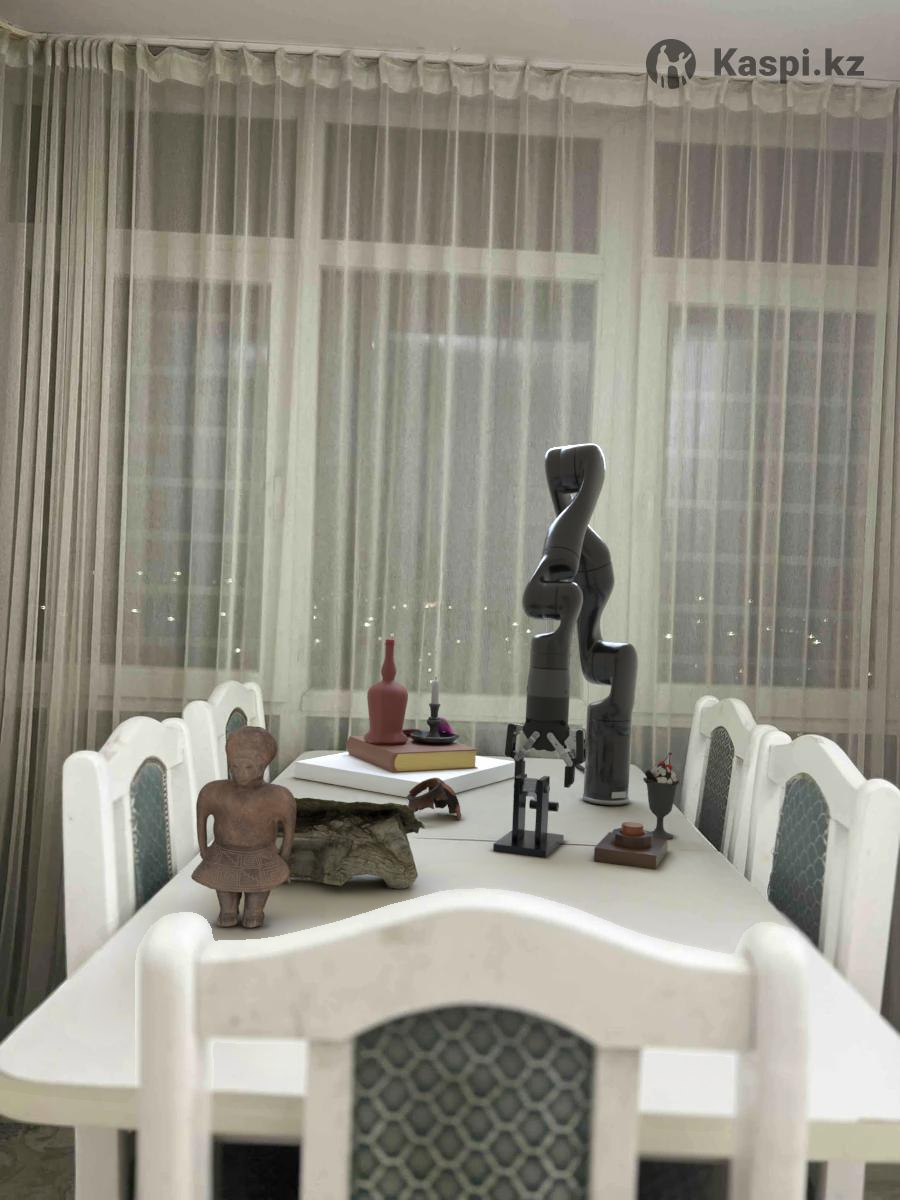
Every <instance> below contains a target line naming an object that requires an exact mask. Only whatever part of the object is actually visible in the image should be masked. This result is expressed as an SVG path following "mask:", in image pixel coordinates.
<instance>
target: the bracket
mask: <svg viewBox="0 0 900 1200" xmlns="http://www.w3.org/2000/svg"><path fill="white" fill-rule="evenodd" d="M550 777H551V776H549V775H543V776H541V777H540V778H537V779H538V780H537V801H536V809H535V825H534V826H535V828H534V830H527V829H526V807H527V806H526V805H527V796H526V795H525V794H524V792H523V785H524V780H525V778H528V774H527V773H525V774H520V775H518V776H516V777H513V778H514V780H513V804H512V823H511V824H512V825H511V826H512V827H511V830H510V831H508V833H506V834H505V835H503V836H502V837H501V838H499V839H498V840H497V841H495V842H493V848H492V849H493V850H492V851H493V852H498V853H499V852H500V853H506V854H507V853H508V854H515V855H521V856H530V857H537V858H545V859H546V858H547V857H548V856H549V855H551V853H553V852H554V851H555V850H556V849H558V848H559V846H561V844H563V843H564V842H565V839H564V838H565V835H564V834H559V833H553V832H552V833H551V832H548V826H549V824H548V823H549V811H548V805H549V801H550V791H551V786H550V782H551V781H550V780H551V778H550Z"/></svg>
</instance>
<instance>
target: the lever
mask: <svg viewBox="0 0 900 1200" xmlns="http://www.w3.org/2000/svg"><path fill="white" fill-rule="evenodd" d="M538 779H539V778H535V777H534V778H532V777H527V778H525V780H524V785H523V792H524V794H525V795H526V797H530V800H529V801H528V802H529V803H528V807H529V809H531V810H536V801H537V780H538ZM559 808H560V804H559V801H553V800H549V805H548V812H555V813H558V812H559Z"/></svg>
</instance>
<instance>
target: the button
mask: <svg viewBox="0 0 900 1200" xmlns="http://www.w3.org/2000/svg"><path fill="white" fill-rule="evenodd" d="M621 828H622V830H621V833H622V834H626V835H633V836H641V835H643V832H644V830H645V826H644V824H643V823H640V822H636V821H625V822H622V823H621Z"/></svg>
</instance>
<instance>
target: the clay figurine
mask: <svg viewBox="0 0 900 1200" xmlns="http://www.w3.org/2000/svg"><path fill="white" fill-rule="evenodd" d="M224 750H225V754H226V758H227V765H228V769H229V771H230V773H231V774H232V775H233V777H232V778H225V779H216V780H212V781H209V782H207V783H205V784H204V785H203V786H202V788H201V789H200V791H199V792H198V795H197V799H196V805H195V812H196V813H195V814H196V835H197V837H196V838H197V843H198V844H197V845H198V848H199V856H200V858H201V859H202V860H201V861H200V862H199V864H198V865H196V867H195V869H194V870H193V872H192V873H191V876H190V878H191V880H192V881H194V882H195V883H198V884H199V885H202V886H204V887H206V888H208V889H210V890H214V891H215V893H216V896H217V900H218V903H219V909H220V910H219V911H220V912H219V914H218V918H217V920H216V925H217V926H218V927H220V928H223V927H225V928H227V927H229V928H230V927H233V926H236V925H237V924H238V920H239V915H240V904H241V900H242V898H243V895H244V899H243V913H242V920H241V925H242V926H243V927H244V928H256V927H261V926H263V925H264V920H265V912H264V909H265V907H266V904H267V902H268V899H269V897H270V893H271V892H272V890H274V889H275V888H278V887H279V886H280V885H291V883H292V878H290V876H289V875H290V870H289V867H288V866H287V864H286V862H287V861H288V859H289V856H290V853H291V849H292V845H293V841H294V832H295V824H296V801H295V798H296V797H295V796H294V794H293V793H292V791H291V790H290V789H289V788H287V787H286V786H284V785H280V784H276V783H270V782H267V781H266V780H265V779H264V777H265V772H266V769H267V768H268V766H269V765H270V764H271V763H272V762H273V760H274V759H275V757H276V756H277V754H278V750H279V749H278V742H277V740H276V739H275V737H274V736H273V733H271V732H269V730H267V729H265V728H264V727H261V726H254V725H242V726H240V727H238V728H237V729H234V730H233V732H232V733H230V735H228V736H227V739H226V742H225V746H224ZM210 816H212V818H213V825H212V832H213V841H212V843H211V844H210V845H209V846H208V827H207V826H208V825H207V824H208V819H209V817H210ZM280 821H281V822H282V823H283V826H284V835H283V840H282V848H281V851H280V852H279V850H278V848H277V846H276V839H277V835H278V826H279V822H280Z"/></svg>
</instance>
